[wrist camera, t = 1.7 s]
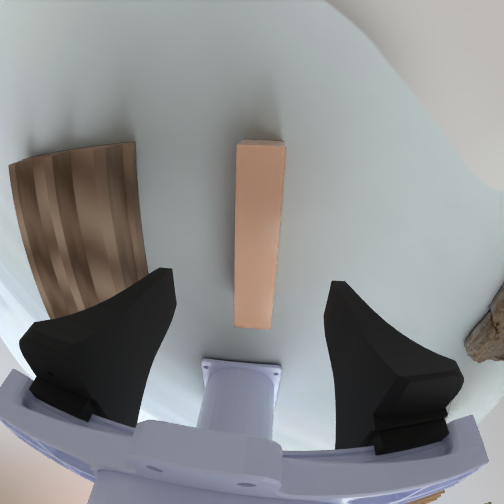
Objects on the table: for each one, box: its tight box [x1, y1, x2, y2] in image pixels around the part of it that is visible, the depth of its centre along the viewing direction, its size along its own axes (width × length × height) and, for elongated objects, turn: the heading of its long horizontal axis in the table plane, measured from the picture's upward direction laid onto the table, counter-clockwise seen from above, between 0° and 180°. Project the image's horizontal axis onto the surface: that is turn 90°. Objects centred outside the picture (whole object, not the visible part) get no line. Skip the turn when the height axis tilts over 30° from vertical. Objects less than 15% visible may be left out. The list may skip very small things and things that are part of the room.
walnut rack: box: [9, 142, 148, 320], centre depth 20 cm, size 18×12×3 cm, turn 178°
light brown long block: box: [234, 139, 286, 329], centre depth 18 cm, size 12×2×4 cm, turn 178°
